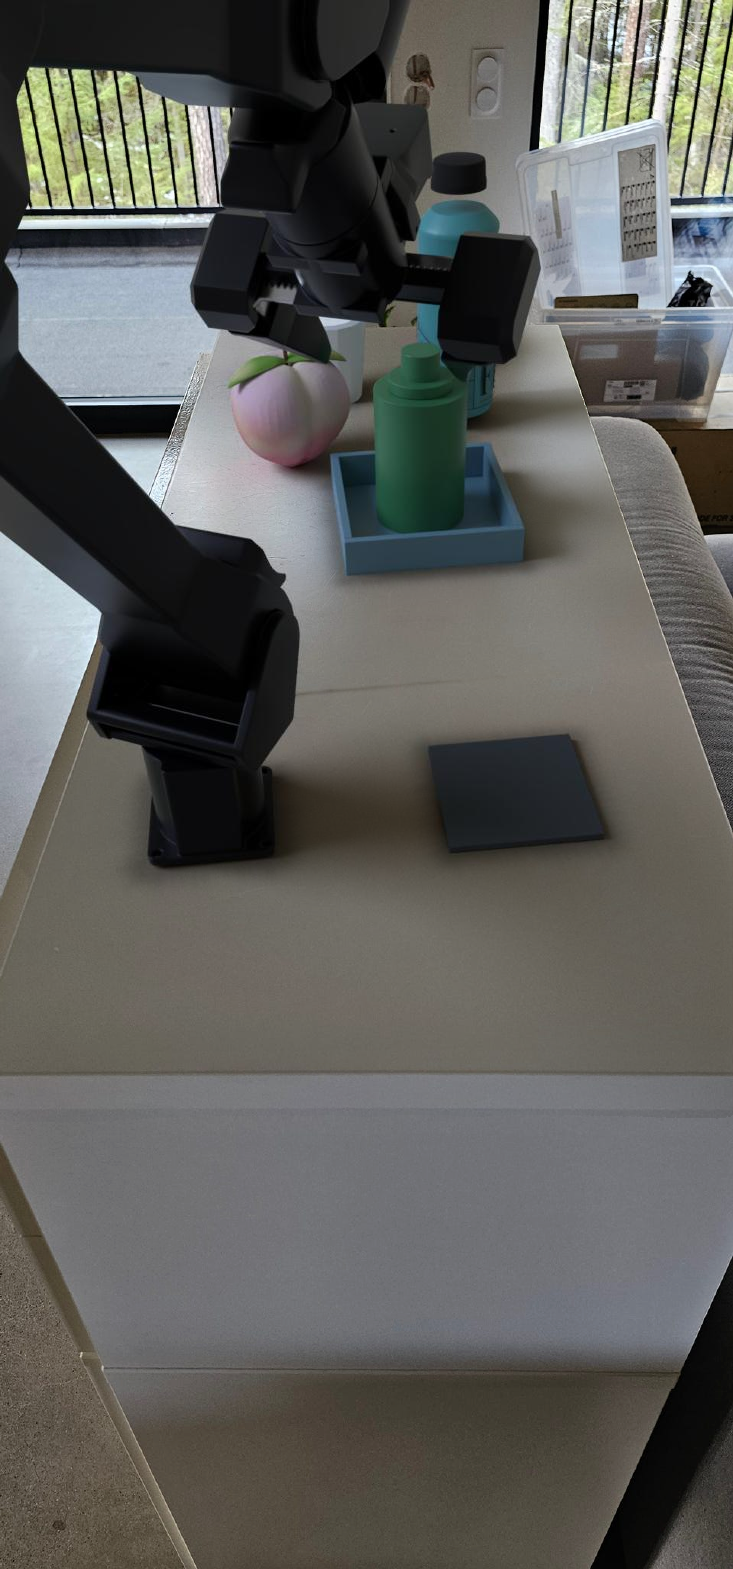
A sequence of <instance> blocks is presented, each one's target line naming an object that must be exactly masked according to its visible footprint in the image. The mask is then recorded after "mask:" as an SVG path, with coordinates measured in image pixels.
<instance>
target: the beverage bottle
mask: <svg viewBox="0 0 733 1569" xmlns="http://www.w3.org/2000/svg"><path fill="white" fill-rule="evenodd" d="M432 159H433V170H434V171H433V174H432V176H431V178H430V190H431V191H433V192H434V193H437V194H440V195H449V196H466V195H472V194H478V193H481V192H484V191H485V190H487V188H488V178H487V161H486V157H485V156H483V155H482V154H481V153H476V152H470V151H452V152H445V153H441V154H439V155H436V156H435V157H434V158H432ZM420 219H421V223H420V226H419V230H418V233H417V254H427V255H437V256H447V257H454V256H455V252H456V249H457V245H458V242H459V238H460V235H461V234H463V233H465V232H466V231H468V230H469V231H480V232H492V233H500V228H501V227H500V226H501V223H500V220H499V218H498V217H497V215H496V214H495V213H494V212H493V211H492V210H491V209H490V208H489V207H488V206H487V205H486V204H485V203H483V202H481V201H477V200H471V199H451V200H450V199H449V200H443V201H439V202H436V203H434V204H433V205H431V206H430V207H429V208H428V210H426V212H424V213H423V214H422V216H420ZM416 307H417V308H416ZM439 307H440V306H439V305H430V304H421V303H417V305H416V306H415V309H416V310H417V313H415V314H414V316H416V319H415V323H416V326H415V327H416V330H415V331H416V332H415V334H416V335H415V337H417V343H431V344H434V345H436V346H438V347H439V348H440V345H439V342H438V340H437V327H438V311H439ZM442 351H443V350H441V348H440V358H441V355H442ZM440 365H442V366H445V365H444V363H443V362H442V361H441V359H440ZM445 367H446V366H445ZM495 376H496V364H495V363H493V364H491V365H490V366H487V367H480V366H475V367H474V368H473V369H472V370H471V373H470V377H469V380H468V382H466V383H467V385H468V401H467V419H469V418H470V419H471V418H475V417H477V416H480V415H483V414H485V413H486V412H488V411H489V409H490V408H491V405H492V403H493V401H494V399H495V393H494V392H495V391H496V390H495V387H496V385H495V382H496V379H495Z"/></svg>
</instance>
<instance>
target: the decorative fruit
mask: <svg viewBox="0 0 733 1569" xmlns="http://www.w3.org/2000/svg"><path fill="white" fill-rule="evenodd" d="M329 360H335V361H347V360H346V359H345V358H344V357H343V356H342V355H341V354H339V353H338V352H336V351H335V350H333V349H332V351H331V355H330V358H329ZM227 389H228V390H229V389H231V392H230V407H231V413H232V417H233V421H234V424H235V427H236V429H237V431H238V434H239V436H240V437H241V439H242V441H243V443H244V444H245V445H246V446H247V447H248V449H249V450H250V451H251V452H253V453H254V454H255V455H257V456H258V457H259V458H262V459H263V460H266V461H268V462H270V463H274V464H278V465H281V466H286V467H289V468H290V467H291V468H295V467H298V466H301V465H305V464H306V463H308V462H310V461H312V460H314V459H316V458H317V457H318V456H320V455H321V454H322V453H323V452H325V451H326V450H327V449H328V448H329V447H330V445H332V443H333V442H334V441H335V440H336V439H337V438H338V436H339V435H340V433H341V432H342V430H343V428H344V427H345V426H346V423H347V421H348V418H349V415H350V411H351V404H350V394H349V390H348V387H347V384H346V382H345V379H344V378H343V376H342V374H341V373H340V371H339V370H338V368H337V367H336V366H335V365H334V364H333V363H332V362H331V361H329V362H328V363H327V364H321V363H318V362H316V361H313V360H310V359H307V358H305V357H302V356H299V355H296V354H293V353H291V352H288V351H285V350H282V349H275V350H270V351H267V352H264V353H261V354H259V355H257V356H255V357H253V358H250V359H249V360H247V361H246V362H244V363H243V364H242V365H240V367H239V368H238V369H237V370H236V371H235V373H233V375H232V377H231V379H230V380H229V383H228V386H227Z"/></svg>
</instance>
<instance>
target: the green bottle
mask: <svg viewBox="0 0 733 1569" xmlns="http://www.w3.org/2000/svg"><path fill="white" fill-rule="evenodd" d="M372 393H373V394H372V395H373V397H372V398H373V426H374V427H373V429H374V430H373V433H374V435H373V436H374V450H375V472H376V510H377V518H378V520H379V522H380V523H381V524H382V525H383V526H384V527H386V528H388V529H390V530H392V531H394V532H397V533H401V534H408V533H421V532H434V531H447V530H450V529H452V528H453V527H455V526H456V525H458V524H459V523H460V522H461V520H462V518H463V516H464V492H465V462H466V444H467V430H468V429H467V428H468V427H467V425H468V418H467V401H468V385H467V383H466V382H461V381H460V380H458V379H457V378H456V377H455V376H454V375H453V374H452V373H451V371H450V370H449V369H448V368H447V367H445V366H442V365H440V348H439V347H438V346H436V345H434V344H431V343H418V342H412V343H408V344H406V345H404V346H403V347H401V349H400V365H398V366H395V367H394V368H392V369H391V370H390V371H389V372H388V373H387V374H384V375H383V376H382V377H380V378H378V379H377V380H376V382H375V383H374V385H373V388H372Z"/></svg>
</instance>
